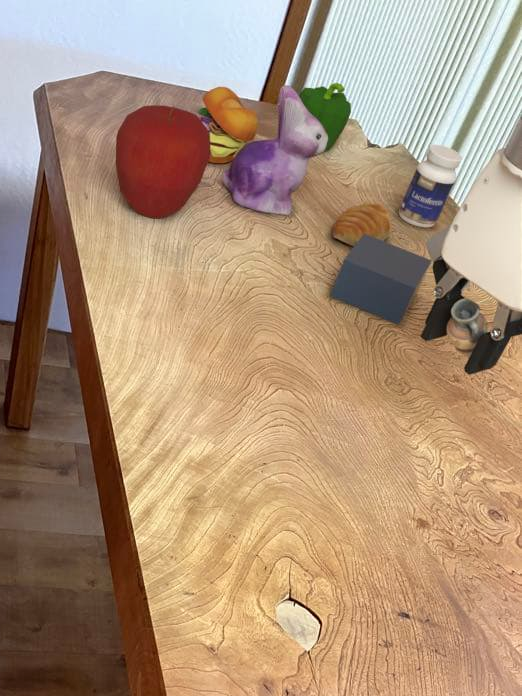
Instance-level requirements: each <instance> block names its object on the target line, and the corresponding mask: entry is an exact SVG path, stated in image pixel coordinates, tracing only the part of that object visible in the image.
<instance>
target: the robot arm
mask: <svg viewBox="0 0 522 696" xmlns="http://www.w3.org/2000/svg"><path fill="white" fill-rule="evenodd" d="M425 245H426V248H427V253H428V255H429V258H430V260H431V261H432V262H433V263H432V267H431V268H432V274H433V277H434V281H435V286H434V287H433V291H432V292H433V295H434V297H435V299H434V302H433V304H432V306H431V308H430V310H429V312H428V314H427V316H426V318H425V321H424V323H425V325H424V327H423V330H422V331H421V333H420V339H422V341H425V342H426V341H428V342H429V341H432V340H436V339H439V338H444V337H446V336H447V324H448V322H449V320H450V318H451V317H452V314H451V310H452V307H453V305H454V304H455V303H456V302H457V301H459V300H461V299H464V298H465V299H466V297H465V296H463V295H462V294H463V293H464V291H466V289H467V288H468V286H469V285H470V284H473V285H474V286H475V287H477V288H478V289H479V290H481V291H483V292H484V293H485V294H486V295H488V296H490V297H491V298H493V299H494V300H495V301H497V305H496V308H495V312H494V317H493V321H492V324H491V328H490V331H487V333H484V334H482V335H481V337H480V339H479V340H478V342H477V344H476V346H475V348H474V350H473V352H472V353H471V355H470V357H469V358H468V359H467V361H466V363H465V365H464V367H463V371H464V373H466V374H467V375H469V376H470V375H475V374H477V373H480V372H484V371H487V370H490V369H492V368H494V367H495V366H496V365H497V363H498V362H499V360H500V358H501V356H502V355H503V353H504V351H505V350H506V348H507V346H508V344H509V342H510V341H511V339H512V338H513V337H516V336H517V337H518V336H521V335H522V113H521V114H520V116H519V118H518V120H517V122H516V124H515V126H514V128H513V131H512V133H511V134H510V137H509V139H508V141H507V143H506V145H505V147H502V148H500V149H497V150H496V152H495V153H494V154H493V156H491V158H490V159H489V161H488V162H487V164H486V165H485V166H484V168H483V169H482V170H481V172H480V173H479V175H478V176H477V178H476V179H475V181H474V182H473V184H472V186H471V188H470V189H469V191H468V192H467V194H466V196H465V197H464V199H463V201H462V203H461V205H460V207H459V209H458V210H457V212H456V214H455V216H454V218H453V220H452V222H451V224H450V225H449V226H447V227H445V228H444V229H442V230H440V231H439V232H437V233H435V234H433V235H432V236H430V237H428V238H427V240H426V242H425Z"/></svg>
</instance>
